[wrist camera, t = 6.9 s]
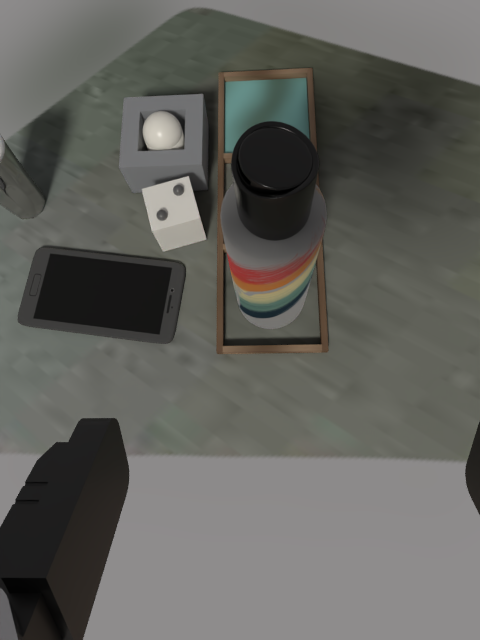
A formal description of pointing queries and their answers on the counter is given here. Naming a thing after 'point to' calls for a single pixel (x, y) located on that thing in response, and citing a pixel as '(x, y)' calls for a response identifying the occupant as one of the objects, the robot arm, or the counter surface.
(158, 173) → the button box
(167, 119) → the dome
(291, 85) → the track
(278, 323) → the lotion bottle
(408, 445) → the counter surface
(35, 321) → the cell phone
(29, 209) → the milkshake
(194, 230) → the die
